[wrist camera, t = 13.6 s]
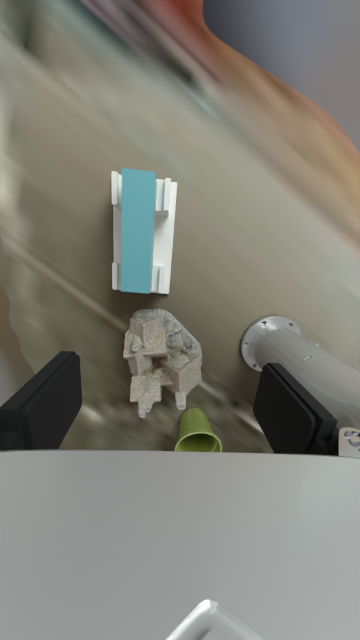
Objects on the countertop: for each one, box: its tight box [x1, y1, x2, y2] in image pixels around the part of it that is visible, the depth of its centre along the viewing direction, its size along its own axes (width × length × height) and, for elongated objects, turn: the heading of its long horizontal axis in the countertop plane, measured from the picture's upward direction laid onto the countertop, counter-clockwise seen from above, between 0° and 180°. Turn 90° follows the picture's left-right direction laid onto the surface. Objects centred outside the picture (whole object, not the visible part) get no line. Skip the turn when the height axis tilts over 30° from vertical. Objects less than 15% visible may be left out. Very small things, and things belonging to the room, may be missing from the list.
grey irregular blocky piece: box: [123, 309, 202, 418], centre depth 36 cm, size 16×16×15 cm
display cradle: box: [112, 171, 177, 294], centre depth 34 cm, size 10×18×6 cm, turn 175°
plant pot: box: [175, 408, 222, 452], centre depth 45 cm, size 9×9×9 cm
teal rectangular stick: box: [121, 168, 157, 294], centre depth 30 cm, size 4×15×4 cm, turn 175°
